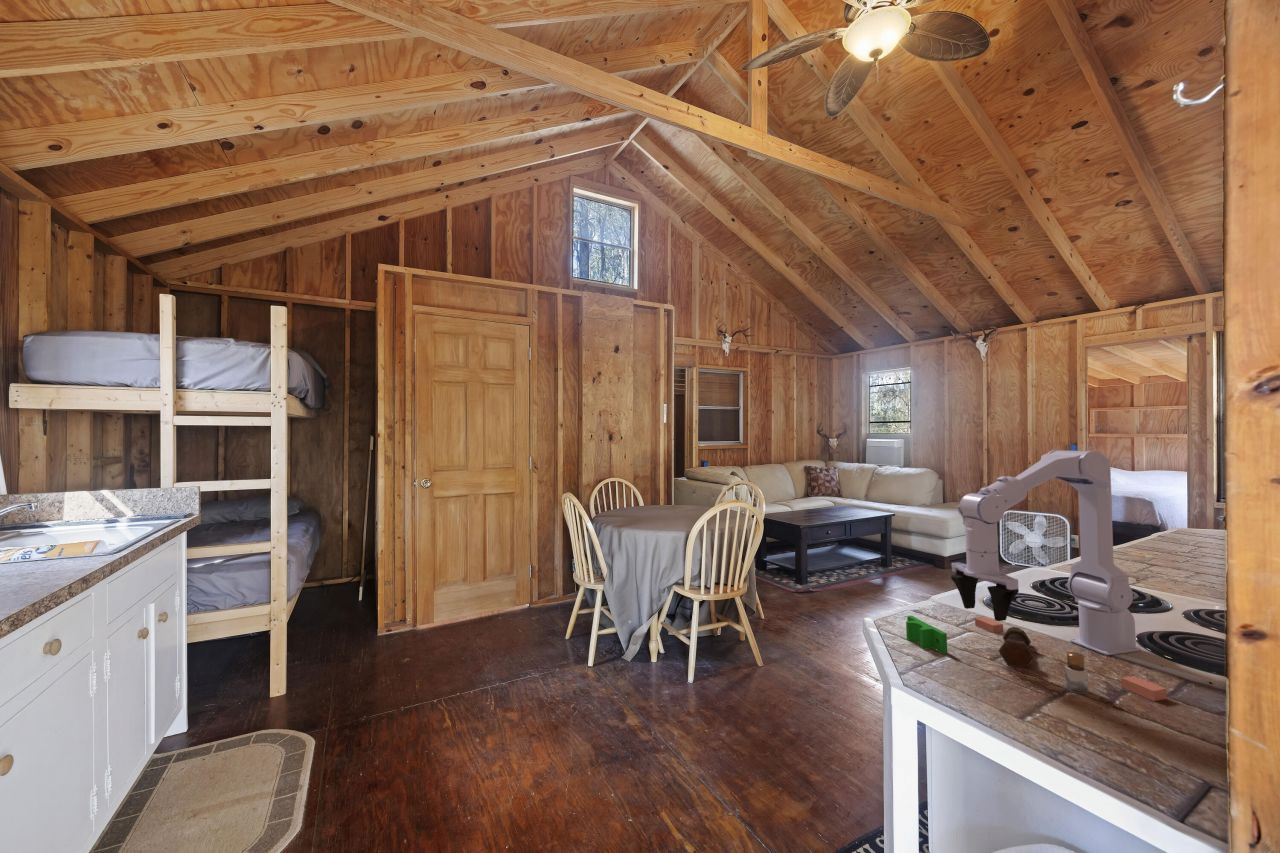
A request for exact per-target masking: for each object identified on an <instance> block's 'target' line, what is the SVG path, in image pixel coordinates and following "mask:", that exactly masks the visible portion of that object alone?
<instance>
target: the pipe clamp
mask: <svg viewBox="0 0 1280 853" xmlns="http://www.w3.org/2000/svg"><path fill="white" fill-rule="evenodd" d="M906 620H907V621H905V624H906V625H905V627H906V630H905V631H906V641H908V642H917V643H919V646H920V647H921V648H922V650H925V649H924V648H929V649H934V648H935V649H937V650H938V651H937V650H936V651H937V652H939V651H940V652H939V653H941V652H942V653H941V654H943V653H944V654H948V637H947V636H948V635H947V632H945V631H943V630H940V629H939V628H937V627H934V626H933V625H931V624H929V623H927V622H925V621H923V620H920V619H919V618H917V617H915V616H913V615H908V616H907V619H906ZM920 647H919V648H920ZM932 647H933V648H932ZM921 648H920V649H921ZM935 649H934V650H935Z"/></svg>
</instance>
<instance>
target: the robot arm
mask: <svg viewBox="0 0 1280 853" xmlns="http://www.w3.org/2000/svg"><path fill="white" fill-rule="evenodd" d="M1111 476H1112V475H1111V460H1110V458H1108V457H1106V456H1105V455H1104V454H1103V453H1102V452H1100V451H1098V450H1085V451H1084V450H1060V449H1053V450H1050V451H1048V452H1047V453H1045V454H1042V455H1041V457H1040V460H1038V461H1037V462H1036V463H1034V464H1033V465H1031V466H1029V467H1028V468H1027V469H1025V470H1024V471H1022V472H1021V473H1019V474H1017V476H1015V477H1013V476H1009V475H1008V476H1003V475H1002V476H999V477H997V478H996V480H997V481H995V482H993V483H992V484H990V485H988V486H986V487H981V488H980V489H979V491H978V492H977V493H974V492H973V493H972V492H971V493H967V494H965V495H964V496H963V497H962V498H961V499H960V501H959V503H958V505H957V507H956V508H957V512H958V513H959V515H960V516H961V518H962V524H963V525H964V528H965V529H964V531H965V532H964V533H965V549H966V550H965V553H966V563H962V562H951V572H953V573H955V574H951V575H950V579H951V580H952V581H953V584H954V585H955V587H956V588H957V590H958V593H959V595H960V598H961V601H962V605H963V607H964V609H966V610H968V609H975V606H976V593H977V592H976V590H977V585H978V581H979V580H982V581H984V582H988V583H991V584H994V585H990V586H987V591H988V593H989V595H990V597H991V602H992V608H993V610H992V611H993V617H994V621H996V622H1002V621H1007V616H1008V614H1009V613H1008V612H1009V610H1010V607H1011V605H1012V602H1013V601H1014V599H1015V597H1016V596H1017V594H1019V579H1017V578H1014V577H1012V576H1010V575H1008V574H1005V573H1003V572H1002V571H1000V563H999V562H1000V561H999V541H998V540H999V539H998V537H999V536H998V522H1000V521H1001V520H1002V519H1003V517H1004V514H1005V512H1006V511H1008V509H1011V508H1012V507H1014V506H1015V505H1017V504H1018V503H1020V502H1022V501H1024V500H1025V499H1026V498H1027V497H1028V491H1029V490H1031V489H1034V488H1036V487H1037V486H1040V485H1041V484H1043V483H1046V482H1048V481H1050V480H1052V479H1058V480H1060V481H1063V482H1065V483H1067V484H1069V485H1070V486H1071V487H1073V488H1074V489H1075V490H1076V491H1077V492H1078V504H1079V505H1078V507H1079V509H1078V510H1079V538H1080V539H1079V542H1080V560H1079V561H1078V562H1076V563H1074V564H1073V565H1071V566H1070V573H1069V578H1068V579H1067V590H1068V593H1069V594H1070V595H1071V596H1072V597H1074V602H1075V603H1078V626H1079V637H1074V638H1070V639H1069V642H1071V643H1074V644H1076V645H1079V646H1081V647H1084V648H1087V649H1089V650H1092V651H1095V652H1097V653H1100V654H1103V655H1105V656H1112V655H1121V654H1127V653H1134V652H1140V651H1142V649H1141V647H1138V646H1137V645H1136V644H1137V640H1136V637H1137V636H1136V621H1135V617H1134V616H1133V614H1132V612H1131V611H1130V610H1129V609H1128V608H1129V607H1130V606H1131V604H1132V603H1133V600H1134V594H1133V590H1132V588H1131V586H1130V582H1129V576H1128V574H1126V573H1125V572H1124V571H1123V570H1122V569H1120V568H1119V567H1118V566H1117V565H1116V564H1115V563H1114V538H1113V536H1114V535H1113V534H1114V533H1113V505H1112V479H1111Z"/></svg>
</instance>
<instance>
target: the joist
mask: <svg viewBox="0 0 1280 853" xmlns="http://www.w3.org/2000/svg"><path fill="white" fill-rule="evenodd" d="M974 625H975V626H976V627H978V628H979V629H980V628H981V629H982V630H985V631H988V632H989V633H992V634H996V633H1003V632H1004V624H1003V623H1001V622H1000V621H996V620H995V619H994V620H993V619H990V618H989V617H986V616H981V617H974Z"/></svg>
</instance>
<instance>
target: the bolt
mask: <svg viewBox="0 0 1280 853" xmlns="http://www.w3.org/2000/svg"><path fill="white" fill-rule="evenodd" d="M1002 639H1003V641H1004V642H1003V643H1002V645H1001V646H1000V648H998V653H999V654H1000V656H1001V658H1002V659H1003V660H1004V662H1005V664H1006V665H1009V666H1011V667H1017V668H1022V669H1023V668H1024V669H1027V668H1028V667H1029V665H1030V664H1031V663H1032V661H1033V660H1034V658H1035V655H1034V654H1033V653H1032V651H1031V649H1030V648H1029V647H1030V645H1031V640H1030V638H1029V637H1028V634H1027V633H1026V632H1025V631H1024V630H1023V629H1021V628H1020V627H1013V626H1012V627H1009V628H1008V629H1007V630H1006V631H1005V632H1004V634H1003V635H1002Z"/></svg>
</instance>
